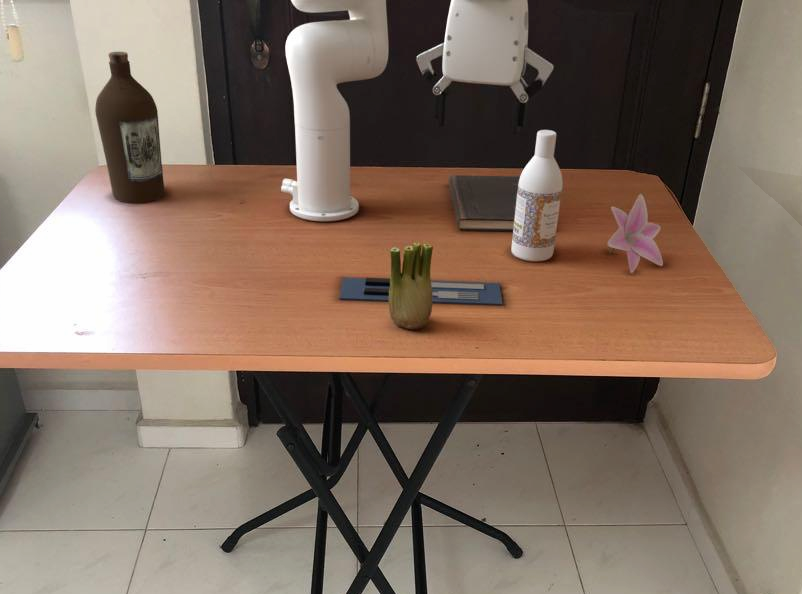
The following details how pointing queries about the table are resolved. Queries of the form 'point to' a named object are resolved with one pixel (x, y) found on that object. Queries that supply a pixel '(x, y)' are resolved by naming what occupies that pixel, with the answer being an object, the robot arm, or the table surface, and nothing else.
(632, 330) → the table surface
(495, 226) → the hardcover book
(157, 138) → the olive oil
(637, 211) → the lily
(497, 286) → the napkin
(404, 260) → the fennel bulb
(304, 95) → the robot arm
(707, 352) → the table surface
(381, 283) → the cutlery
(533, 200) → the bath foam
